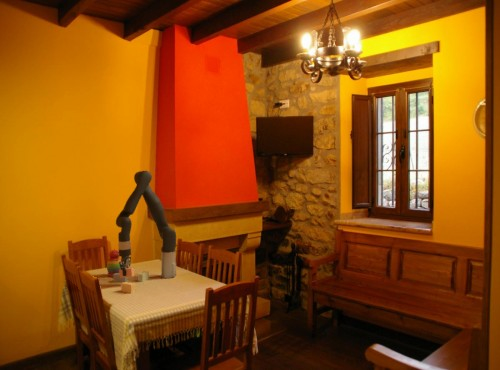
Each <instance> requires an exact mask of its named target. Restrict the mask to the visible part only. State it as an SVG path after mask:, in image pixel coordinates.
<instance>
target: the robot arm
mask: <svg viewBox="0 0 500 370" xmlns="http://www.w3.org/2000/svg"><path fill="white" fill-rule="evenodd" d="M152 178H153V177H152V174H151V172H150V171H148V170H140V171H137V172H135V174H134V175H133V180H134V183H135V184H136V186H135V188H134V190H133V191H132V192H131V194H130V195H129V196H128V198H127V199H126V202H125V205H124V206H123V208H122V210H121V212H120V213H119V214H118V215H117V217H116V220H115V225H116V227H118V228H121V229H120V231H119V232H118V235H117V237H118V238H117V239H118V244H117V245H118V246H117V247H118V249H117V250H118V252H119V257H121V258H120V262H119V264H120V269H121V270H122V271H123V276H126V268H130V267H131V264H132V263H131V261H132V257H131V255H132V245H131V232H132V231H131V230H132V219H131V218H130V216H132V215H134V213H135V211H136V209H137V207H138V204H139V202H140V200H141V199H142V198H143V200H144V202H145V204H146V207H147V209H148V211H149V214H150V215H151V217H152V219H153V221H154V223H155V225H156V228H157V231H158V234H159V238H161V240H162V247H161V249H160V250H161V251H160V252H161V253H160V255H161V257H160V259H161V278H162V279H170V278H172V279H173V278H175V277H176V276H177V261H176V248H177V234H176V230H174V229H173V228H171V227H170V225H169V223H168V221H167V220H166V215H165V209H164V206H163V204H162V202H161V200H160V198H159V197H158V195H157V193H155V192H154V191H153V189H152V188H151V185H150V183H151V181H152Z"/></svg>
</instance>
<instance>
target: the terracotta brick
mask: <svg viewBox="0 0 500 370" xmlns="http://www.w3.org/2000/svg"><path fill="white" fill-rule="evenodd" d="M119 274H120V278H124V277H127V278H130V277H131V278H132V277H133V276H135V271H134V267H132V266H130V267H129V268H126V276H123V271H122V270H121V269H120V270H119Z"/></svg>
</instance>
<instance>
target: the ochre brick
mask: <svg viewBox="0 0 500 370" xmlns="http://www.w3.org/2000/svg"><path fill="white" fill-rule="evenodd" d="M136 286H137V285H136V283H134V282H128V281H126V282H120V290H121V291H120V292H124V293H128V294H133V293H135V292H136Z"/></svg>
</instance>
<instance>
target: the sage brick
mask: <svg viewBox="0 0 500 370" xmlns="http://www.w3.org/2000/svg"><path fill="white" fill-rule="evenodd" d="M149 279H150V272H149V271H145V270H144V271H141V272H139V273H138V274H137V282H140V283H143V282H145V281H147V280H149Z"/></svg>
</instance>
